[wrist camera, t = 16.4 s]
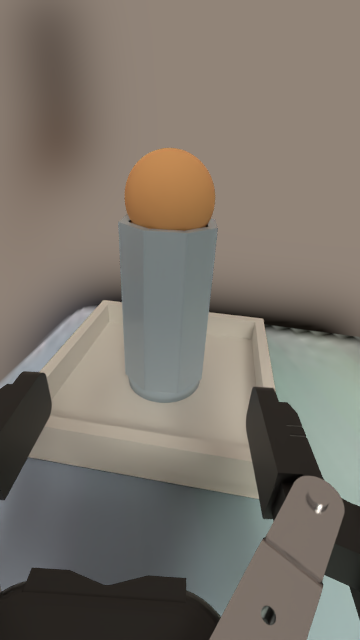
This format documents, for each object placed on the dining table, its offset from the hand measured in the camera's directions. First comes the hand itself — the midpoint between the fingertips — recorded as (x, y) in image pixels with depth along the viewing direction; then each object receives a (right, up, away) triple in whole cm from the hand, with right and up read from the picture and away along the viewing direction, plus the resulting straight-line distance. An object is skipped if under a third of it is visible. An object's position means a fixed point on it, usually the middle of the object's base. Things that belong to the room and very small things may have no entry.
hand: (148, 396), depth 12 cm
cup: (0, -2, +12) cm, 12 cm away
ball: (+1, +10, +6) cm, 12 cm away
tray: (0, -2, +13) cm, 13 cm away
